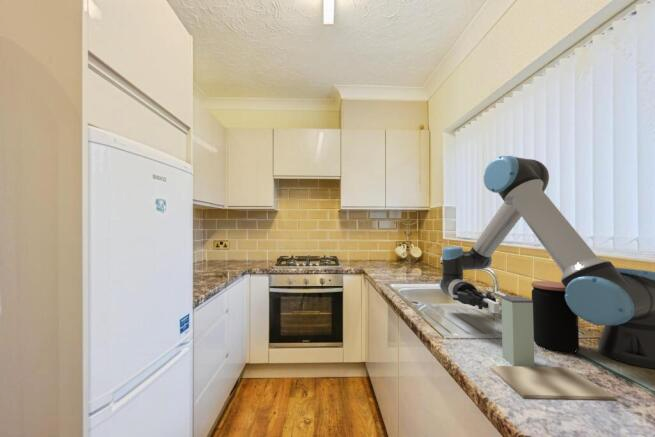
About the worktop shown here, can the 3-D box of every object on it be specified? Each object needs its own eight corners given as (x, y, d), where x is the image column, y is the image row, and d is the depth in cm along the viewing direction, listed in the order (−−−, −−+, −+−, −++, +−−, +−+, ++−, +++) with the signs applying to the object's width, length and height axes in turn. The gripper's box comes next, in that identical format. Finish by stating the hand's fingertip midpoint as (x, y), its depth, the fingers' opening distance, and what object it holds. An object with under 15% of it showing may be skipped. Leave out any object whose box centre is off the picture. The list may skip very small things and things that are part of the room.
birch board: (566, 369, 73) (566, 367, 73) (615, 399, 60) (615, 396, 60) (489, 368, 73) (489, 365, 73) (522, 397, 60) (522, 394, 60)
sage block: (522, 358, 79) (520, 296, 80) (534, 366, 74) (532, 300, 75) (502, 357, 80) (501, 296, 80) (513, 366, 75) (512, 300, 75)
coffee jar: (588, 355, 81) (586, 288, 82) (544, 352, 83) (542, 287, 84) (565, 341, 92) (563, 281, 92) (526, 339, 94) (524, 280, 94)
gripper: (481, 302, 110) (520, 322, 86) (444, 301, 110) (473, 321, 87) (480, 281, 110) (519, 295, 87) (444, 281, 111) (473, 295, 87)
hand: (496, 308), depth 87 cm, fingers closed
